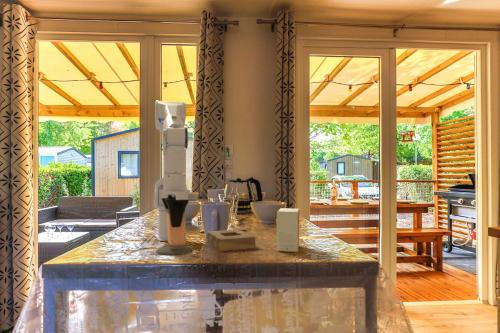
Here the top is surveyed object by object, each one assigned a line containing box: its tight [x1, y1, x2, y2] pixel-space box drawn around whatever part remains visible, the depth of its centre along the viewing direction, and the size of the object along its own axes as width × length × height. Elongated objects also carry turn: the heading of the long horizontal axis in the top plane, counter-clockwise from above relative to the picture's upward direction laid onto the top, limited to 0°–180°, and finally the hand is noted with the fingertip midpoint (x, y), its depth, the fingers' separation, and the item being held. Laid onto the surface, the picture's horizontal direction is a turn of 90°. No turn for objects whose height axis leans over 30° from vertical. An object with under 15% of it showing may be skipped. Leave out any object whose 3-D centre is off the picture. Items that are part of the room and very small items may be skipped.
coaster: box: [155, 244, 192, 256], centre depth 87 cm, size 9×9×1 cm
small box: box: [276, 207, 300, 253], centre depth 91 cm, size 8×6×10 cm
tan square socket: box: [206, 228, 256, 252], centre depth 95 cm, size 12×10×3 cm
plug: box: [166, 208, 187, 246], centre depth 87 cm, size 4×4×9 cm
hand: (174, 225), depth 87 cm, fingers closed on plug, 4 cm apart
